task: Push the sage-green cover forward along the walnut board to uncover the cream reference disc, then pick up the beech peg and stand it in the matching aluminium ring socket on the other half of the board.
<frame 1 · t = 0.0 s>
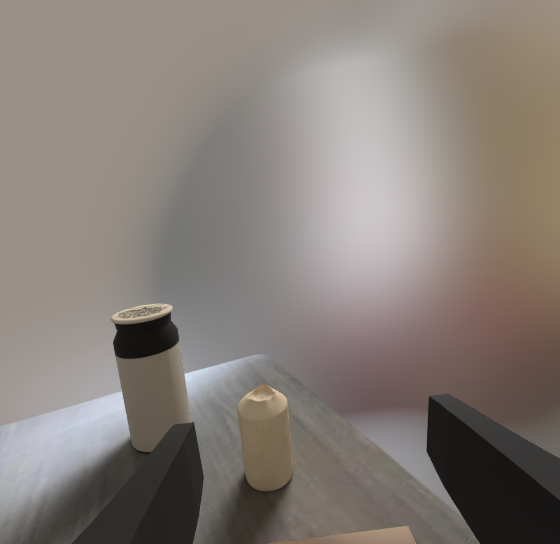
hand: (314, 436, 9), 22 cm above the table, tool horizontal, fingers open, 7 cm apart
travel mug: (163, 434, 44), on the table
candle: (269, 473, 36), on the table
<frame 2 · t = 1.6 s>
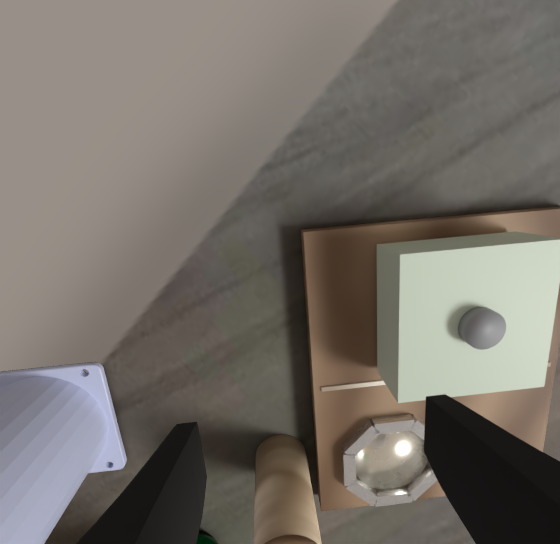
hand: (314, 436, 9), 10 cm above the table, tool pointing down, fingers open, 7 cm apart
board: (427, 365, 21), on the table
peg: (280, 455, 22), on the table
cover: (462, 316, 17), point 3 cm above the table, slide at 0.0 cm
socket ring: (383, 443, 22), resting on board
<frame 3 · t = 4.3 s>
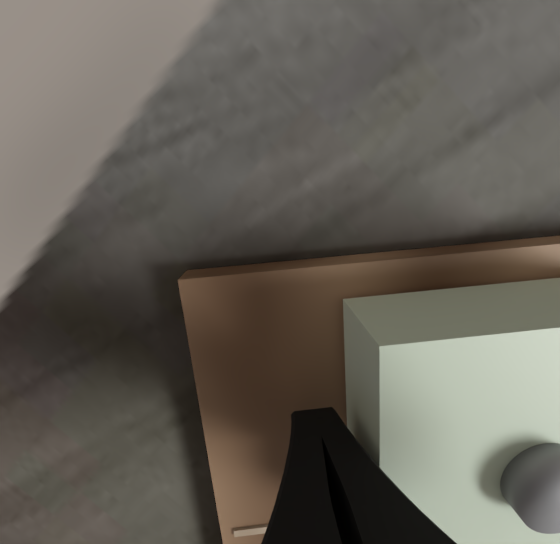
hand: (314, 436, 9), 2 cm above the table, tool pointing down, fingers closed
board: (412, 479, 13), on the table
cover: (502, 439, 9), point 3 cm above the table, slide at 0.9 cm, touching gripper
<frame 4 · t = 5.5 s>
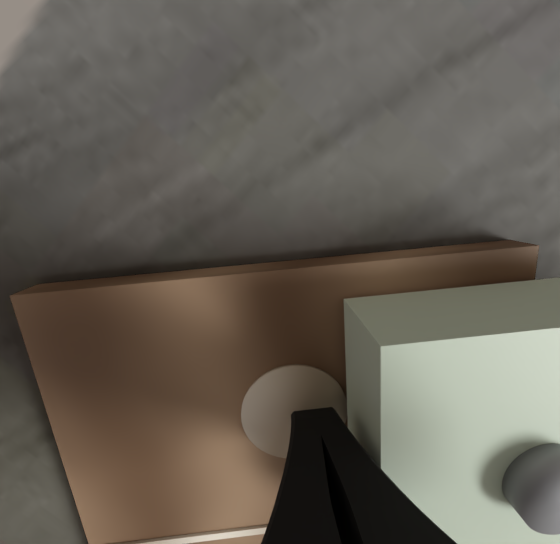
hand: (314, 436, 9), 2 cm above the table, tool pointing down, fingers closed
board: (299, 493, 13), on the table
cover: (504, 439, 9), point 3 cm above the table, slide at 5.7 cm, touching gripper
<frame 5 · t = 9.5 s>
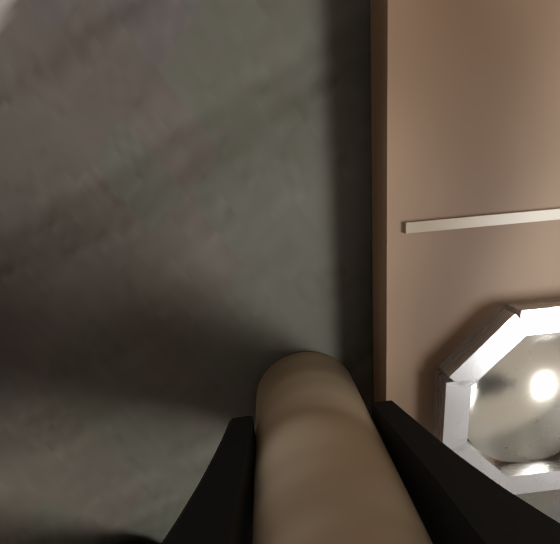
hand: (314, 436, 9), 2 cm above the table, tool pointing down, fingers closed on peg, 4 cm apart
peg: (305, 396, 11), on the table, touching gripper
socket ring: (505, 374, 12), resting on board
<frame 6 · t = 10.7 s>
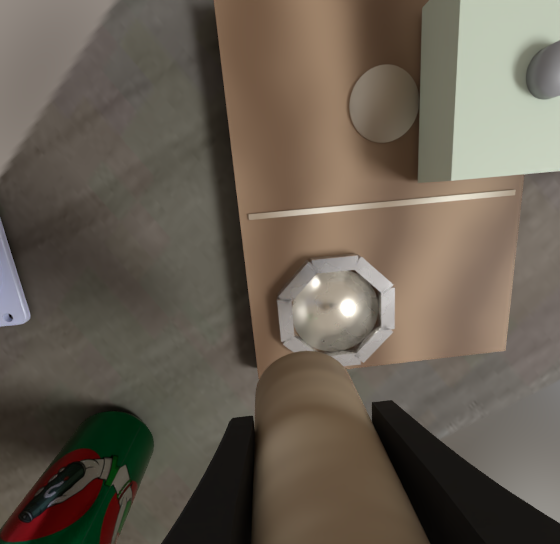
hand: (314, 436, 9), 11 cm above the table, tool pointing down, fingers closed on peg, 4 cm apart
soda can: (119, 434, 21), on the table
board: (375, 203, 18), on the table
peg: (304, 395, 11), point 8 cm above the table, touching gripper
cover: (525, 82, 14), point 3 cm above the table, slide at 5.8 cm
socket ring: (330, 304, 20), resting on board
when the fingers open (4 cm above the table, at t = 12.4 s): peg stays where it is, resting on socket ring.
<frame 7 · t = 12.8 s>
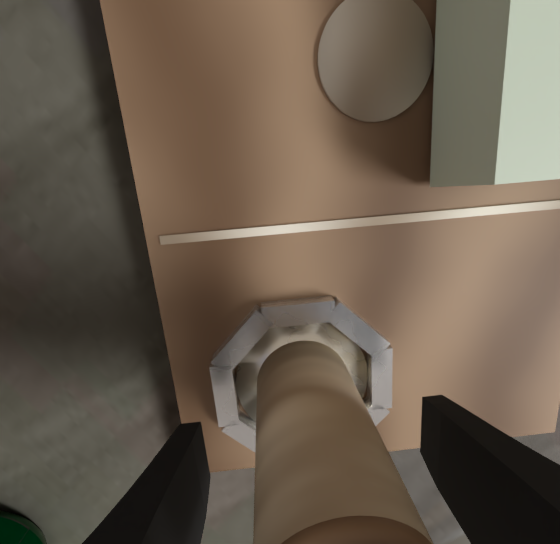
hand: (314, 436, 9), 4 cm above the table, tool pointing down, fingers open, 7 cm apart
soda can: (4, 538, 15), on the table
board: (364, 218, 12), on the table
peg: (302, 382, 12), point 1 cm above the table, touching socket ring
socket ring: (298, 363, 13), resting on board
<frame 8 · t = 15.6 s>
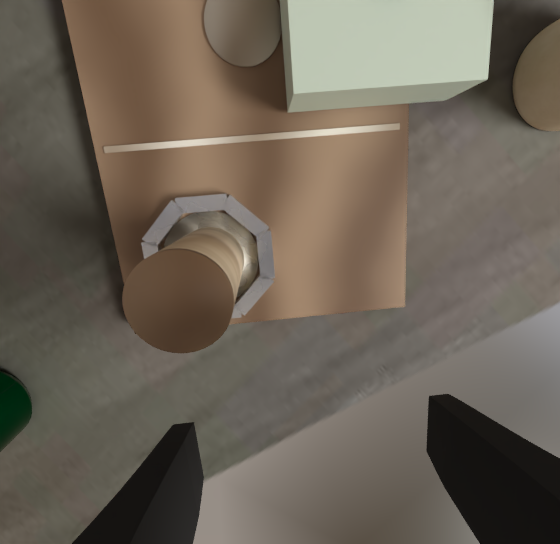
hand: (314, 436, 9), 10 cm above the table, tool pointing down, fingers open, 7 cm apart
board: (254, 142, 17), on the table
peg: (211, 259, 17), point 1 cm above the table, touching socket ring
candle: (555, 79, 17), on the table
socket ring: (214, 254, 18), resting on board
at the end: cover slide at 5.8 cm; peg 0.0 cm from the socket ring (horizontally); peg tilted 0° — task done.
